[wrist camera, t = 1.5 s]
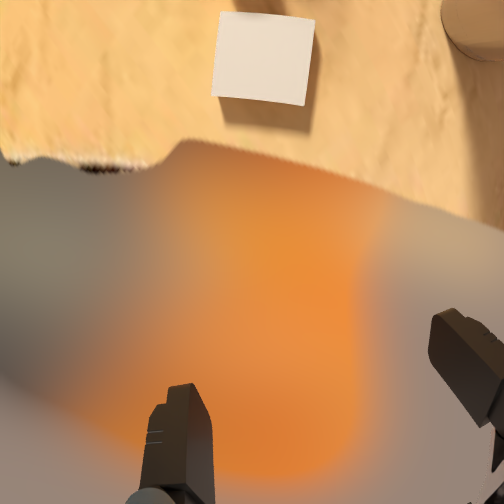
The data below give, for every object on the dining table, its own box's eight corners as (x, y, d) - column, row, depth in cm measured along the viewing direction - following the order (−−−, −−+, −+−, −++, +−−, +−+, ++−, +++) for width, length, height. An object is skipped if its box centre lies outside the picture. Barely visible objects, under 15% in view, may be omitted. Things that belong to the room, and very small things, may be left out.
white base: (226, 17, 27) (220, 11, 24) (313, 25, 26) (315, 20, 24) (217, 95, 31) (211, 95, 29) (302, 104, 31) (304, 106, 28)
